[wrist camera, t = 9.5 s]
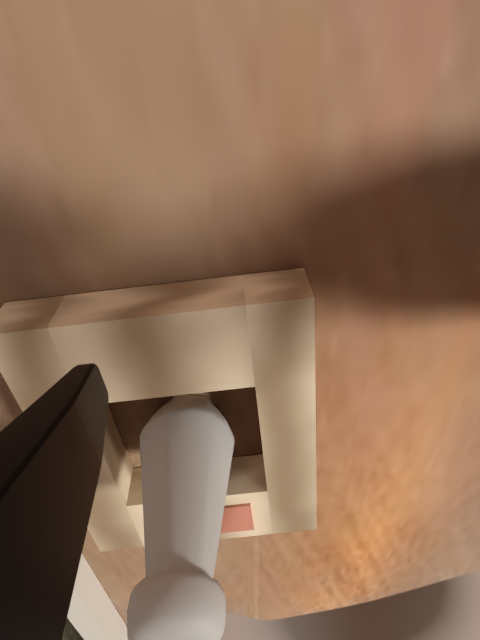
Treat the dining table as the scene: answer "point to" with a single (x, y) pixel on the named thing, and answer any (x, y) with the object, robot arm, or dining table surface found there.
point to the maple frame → (185, 383)
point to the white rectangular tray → (94, 608)
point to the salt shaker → (182, 522)
